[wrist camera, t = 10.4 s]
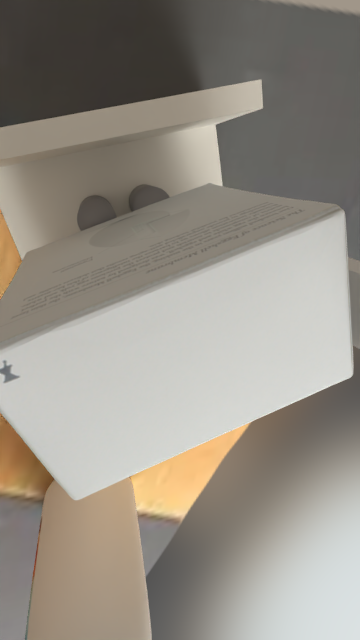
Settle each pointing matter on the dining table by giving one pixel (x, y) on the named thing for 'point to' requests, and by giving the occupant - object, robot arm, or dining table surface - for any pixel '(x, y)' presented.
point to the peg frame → (112, 160)
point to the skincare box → (172, 329)
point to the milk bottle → (89, 568)
